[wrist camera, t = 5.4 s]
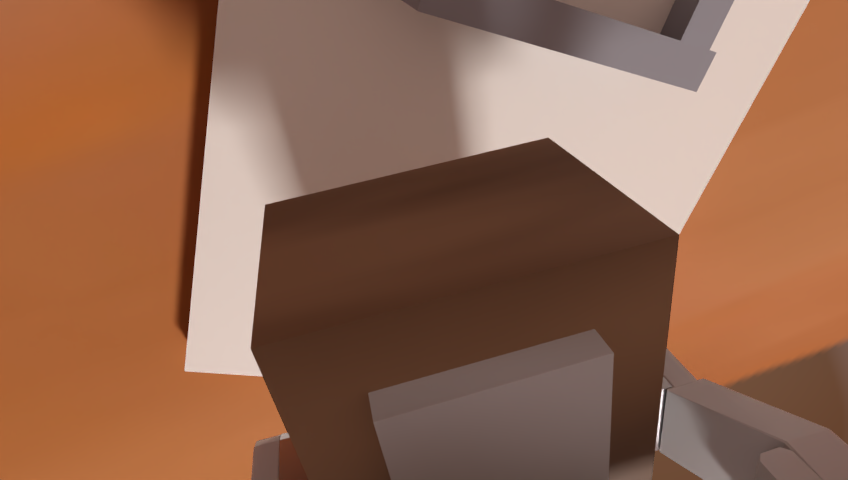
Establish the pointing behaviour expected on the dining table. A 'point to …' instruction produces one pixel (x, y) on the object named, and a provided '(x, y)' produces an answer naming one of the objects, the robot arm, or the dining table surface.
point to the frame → (468, 322)
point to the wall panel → (457, 109)
